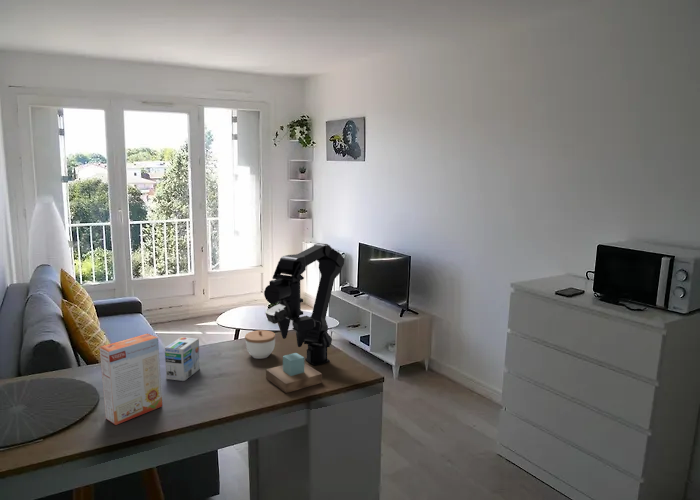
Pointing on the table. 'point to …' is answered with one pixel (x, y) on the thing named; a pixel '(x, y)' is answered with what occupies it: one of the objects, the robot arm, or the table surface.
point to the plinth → (293, 378)
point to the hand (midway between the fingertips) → (291, 342)
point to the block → (293, 364)
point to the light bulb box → (182, 358)
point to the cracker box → (131, 377)
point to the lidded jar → (260, 343)
